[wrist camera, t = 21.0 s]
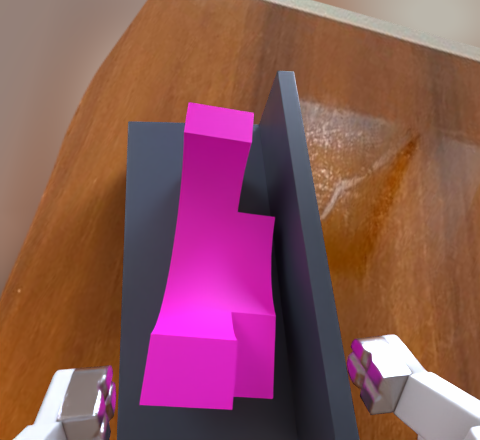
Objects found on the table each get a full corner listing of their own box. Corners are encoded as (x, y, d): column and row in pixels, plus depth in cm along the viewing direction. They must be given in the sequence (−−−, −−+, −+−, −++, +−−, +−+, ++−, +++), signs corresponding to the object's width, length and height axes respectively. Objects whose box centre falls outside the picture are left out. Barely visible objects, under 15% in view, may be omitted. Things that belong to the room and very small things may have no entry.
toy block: (255, 385, 20) (290, 412, 13) (156, 379, 19) (139, 405, 12) (266, 178, 25) (295, 120, 18) (188, 167, 25) (188, 102, 18)
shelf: (132, 446, 23) (80, 554, 12) (139, 159, 31) (111, 61, 20) (289, 423, 25) (369, 496, 14) (258, 159, 33) (293, 71, 22)
